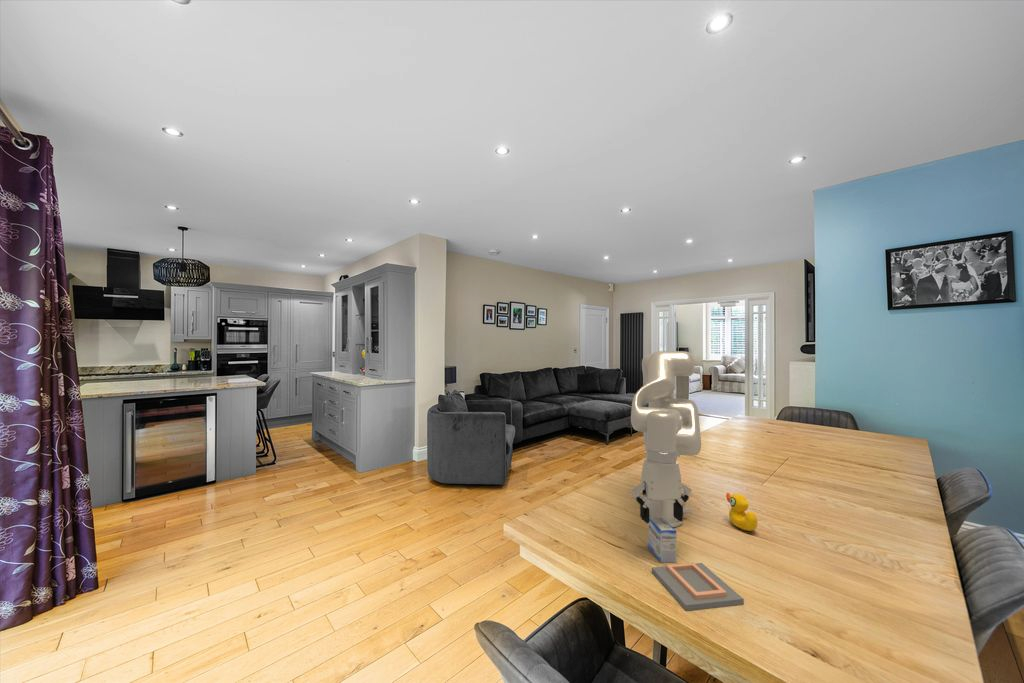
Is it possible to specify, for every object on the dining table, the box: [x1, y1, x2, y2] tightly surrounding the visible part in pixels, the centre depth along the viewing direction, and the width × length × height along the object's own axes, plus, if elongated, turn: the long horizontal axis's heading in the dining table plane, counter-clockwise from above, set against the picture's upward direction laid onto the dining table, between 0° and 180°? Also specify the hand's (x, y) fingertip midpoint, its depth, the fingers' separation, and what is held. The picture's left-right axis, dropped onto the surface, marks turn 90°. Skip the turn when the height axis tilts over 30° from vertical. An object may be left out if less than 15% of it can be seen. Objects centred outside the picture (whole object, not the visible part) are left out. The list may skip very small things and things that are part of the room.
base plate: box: [651, 562, 745, 612], centre depth 87 cm, size 14×14×2 cm
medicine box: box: [647, 517, 678, 564], centre depth 101 cm, size 8×4×9 cm, turn 5°
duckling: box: [725, 492, 758, 532], centre depth 118 cm, size 11×5×10 cm, turn 10°
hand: (661, 520), depth 101 cm, fingers open, 9 cm apart
